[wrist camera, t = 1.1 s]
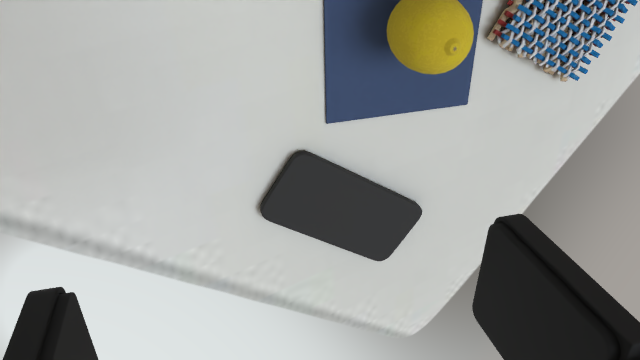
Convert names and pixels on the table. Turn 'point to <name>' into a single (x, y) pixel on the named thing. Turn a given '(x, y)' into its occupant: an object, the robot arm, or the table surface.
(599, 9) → the woven mat
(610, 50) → the table surface
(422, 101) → the cloth
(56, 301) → the robot arm
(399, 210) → the phone
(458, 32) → the lemon
